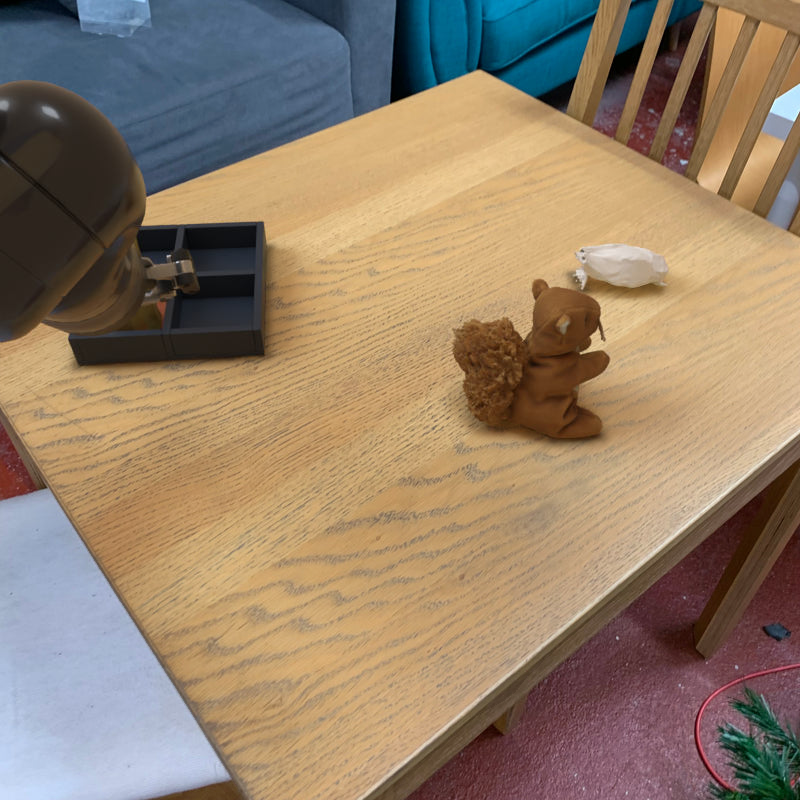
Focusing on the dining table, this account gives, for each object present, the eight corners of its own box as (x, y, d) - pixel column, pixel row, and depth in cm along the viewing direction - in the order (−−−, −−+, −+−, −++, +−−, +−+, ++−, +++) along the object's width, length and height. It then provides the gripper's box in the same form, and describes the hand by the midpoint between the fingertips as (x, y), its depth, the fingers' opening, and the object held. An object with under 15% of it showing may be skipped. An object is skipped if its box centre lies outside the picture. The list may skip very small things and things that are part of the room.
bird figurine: (589, 313, 85) (675, 286, 85) (583, 261, 81) (673, 232, 81) (574, 292, 89) (656, 266, 89) (567, 241, 85) (654, 213, 85)
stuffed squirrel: (608, 437, 72) (645, 333, 62) (461, 452, 70) (475, 348, 60) (576, 362, 78) (604, 258, 68) (440, 375, 76) (450, 269, 67)
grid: (78, 365, 76) (67, 339, 73) (106, 253, 88) (98, 227, 86) (264, 355, 78) (260, 329, 75) (267, 246, 90) (263, 220, 87)
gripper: (181, 191, 48) (186, 238, 64) (-66, 229, 45) (3, 269, 60) (208, 309, 49) (206, 327, 64) (-34, 355, 45) (26, 362, 61)
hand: (108, 299), depth 62 cm, fingers open, 8 cm apart
